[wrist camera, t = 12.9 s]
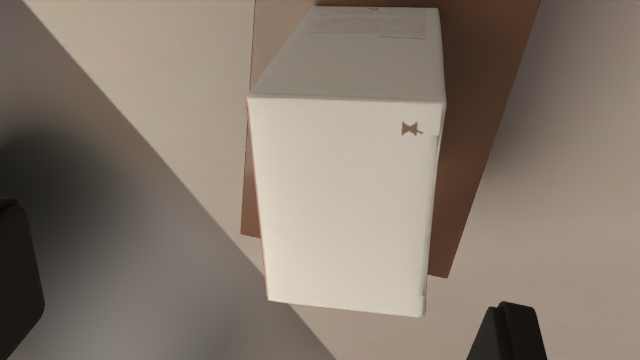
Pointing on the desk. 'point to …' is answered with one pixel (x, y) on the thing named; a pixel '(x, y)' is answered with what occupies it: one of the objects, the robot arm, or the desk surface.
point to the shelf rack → (460, 88)
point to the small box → (350, 158)
